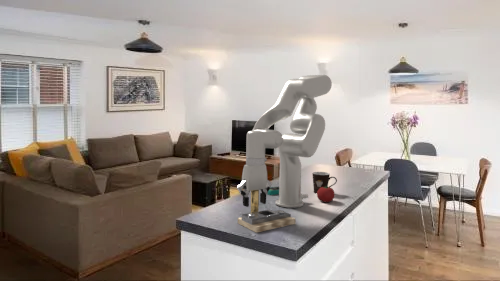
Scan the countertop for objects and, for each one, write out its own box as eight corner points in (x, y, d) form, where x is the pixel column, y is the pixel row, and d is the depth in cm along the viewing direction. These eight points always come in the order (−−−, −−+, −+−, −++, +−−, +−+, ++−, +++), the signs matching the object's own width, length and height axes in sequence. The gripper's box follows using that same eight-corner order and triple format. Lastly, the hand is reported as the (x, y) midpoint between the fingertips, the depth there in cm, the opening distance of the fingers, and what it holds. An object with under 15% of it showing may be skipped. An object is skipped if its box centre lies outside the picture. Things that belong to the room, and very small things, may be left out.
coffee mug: (308, 192, 190) (308, 173, 189) (318, 189, 196) (319, 171, 195) (327, 196, 181) (327, 176, 180) (337, 194, 187) (338, 174, 186)
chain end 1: (269, 214, 144) (269, 207, 144) (280, 219, 139) (280, 212, 139) (241, 219, 137) (241, 213, 137) (251, 224, 132) (252, 217, 132)
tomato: (314, 199, 176) (314, 184, 175) (329, 198, 178) (329, 183, 178) (323, 204, 168) (323, 188, 167) (338, 202, 171) (339, 187, 170)
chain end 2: (279, 212, 147) (279, 208, 147) (290, 216, 142) (290, 212, 142) (253, 217, 140) (253, 213, 140) (263, 222, 135) (263, 218, 135)
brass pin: (255, 212, 154) (255, 188, 153) (260, 214, 151) (260, 190, 150) (249, 213, 152) (249, 189, 151) (253, 215, 149) (254, 191, 148)
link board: (275, 215, 150) (275, 210, 150) (295, 223, 140) (295, 218, 140) (237, 223, 140) (237, 218, 139) (256, 232, 130) (256, 227, 130)
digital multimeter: (294, 193, 189) (295, 187, 189) (269, 196, 182) (270, 190, 182) (286, 190, 196) (286, 184, 196) (262, 193, 189) (262, 187, 189)
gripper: (267, 158, 157) (266, 199, 159) (231, 162, 147) (231, 205, 149) (278, 161, 151) (277, 203, 153) (242, 164, 141) (241, 210, 143)
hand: (254, 204), depth 151 cm, fingers open, 7 cm apart
